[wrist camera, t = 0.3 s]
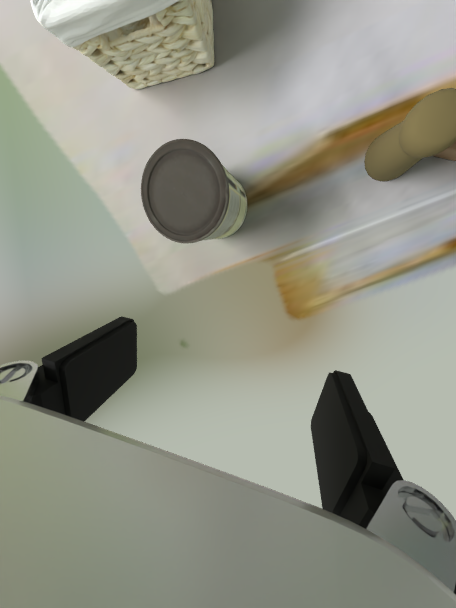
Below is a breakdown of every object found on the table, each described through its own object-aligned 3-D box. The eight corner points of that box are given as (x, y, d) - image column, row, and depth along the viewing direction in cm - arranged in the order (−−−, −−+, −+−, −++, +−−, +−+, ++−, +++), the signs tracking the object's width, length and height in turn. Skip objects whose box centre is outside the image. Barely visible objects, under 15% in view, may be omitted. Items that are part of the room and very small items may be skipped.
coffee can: (185, 231, 39) (136, 231, 26) (195, 166, 36) (144, 129, 23) (239, 246, 38) (216, 253, 25) (255, 180, 34) (238, 149, 21)
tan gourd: (427, 142, 28) (508, 91, 18) (393, 189, 31) (448, 168, 20) (385, 121, 29) (442, 59, 18) (354, 169, 31) (390, 138, 21)
